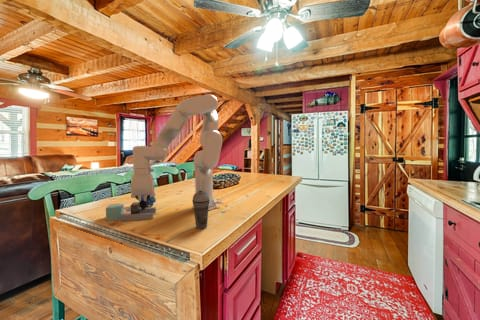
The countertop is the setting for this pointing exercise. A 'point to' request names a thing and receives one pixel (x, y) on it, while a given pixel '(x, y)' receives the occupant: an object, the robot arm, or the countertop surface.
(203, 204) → the beverage cup
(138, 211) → the plunger
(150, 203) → the grapes
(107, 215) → the block
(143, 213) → the channel
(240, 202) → the countertop surface
